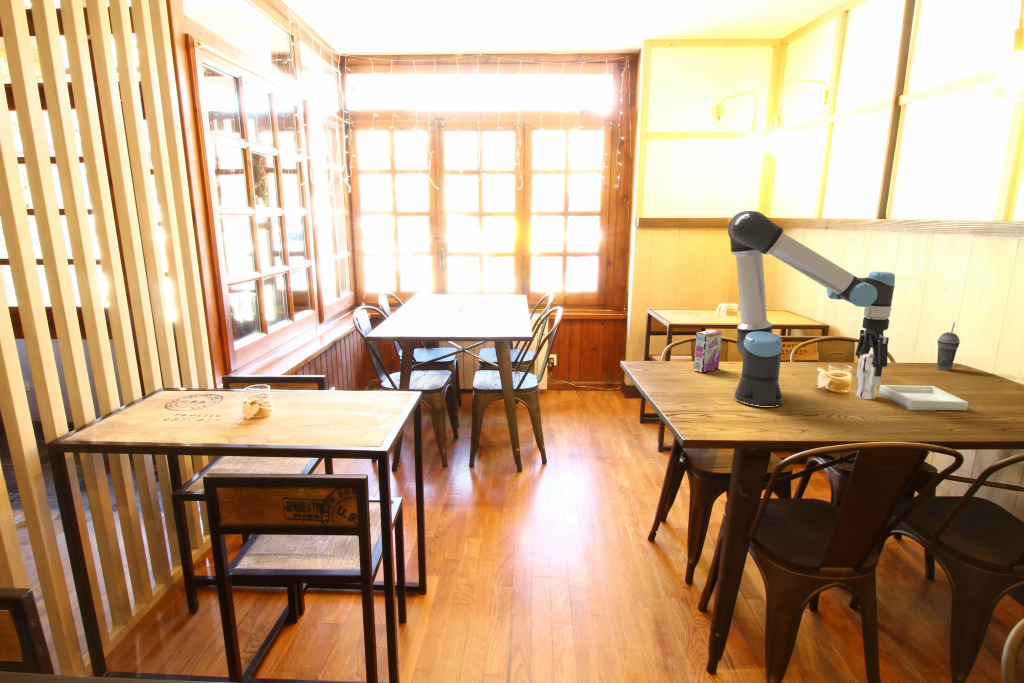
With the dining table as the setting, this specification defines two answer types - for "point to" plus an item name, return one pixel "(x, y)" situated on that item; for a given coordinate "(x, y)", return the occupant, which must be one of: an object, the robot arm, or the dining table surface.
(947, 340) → the beverage cup
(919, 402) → the tray
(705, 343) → the candy bar box
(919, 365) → the dining table surface
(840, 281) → the robot arm
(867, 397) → the beer glass
